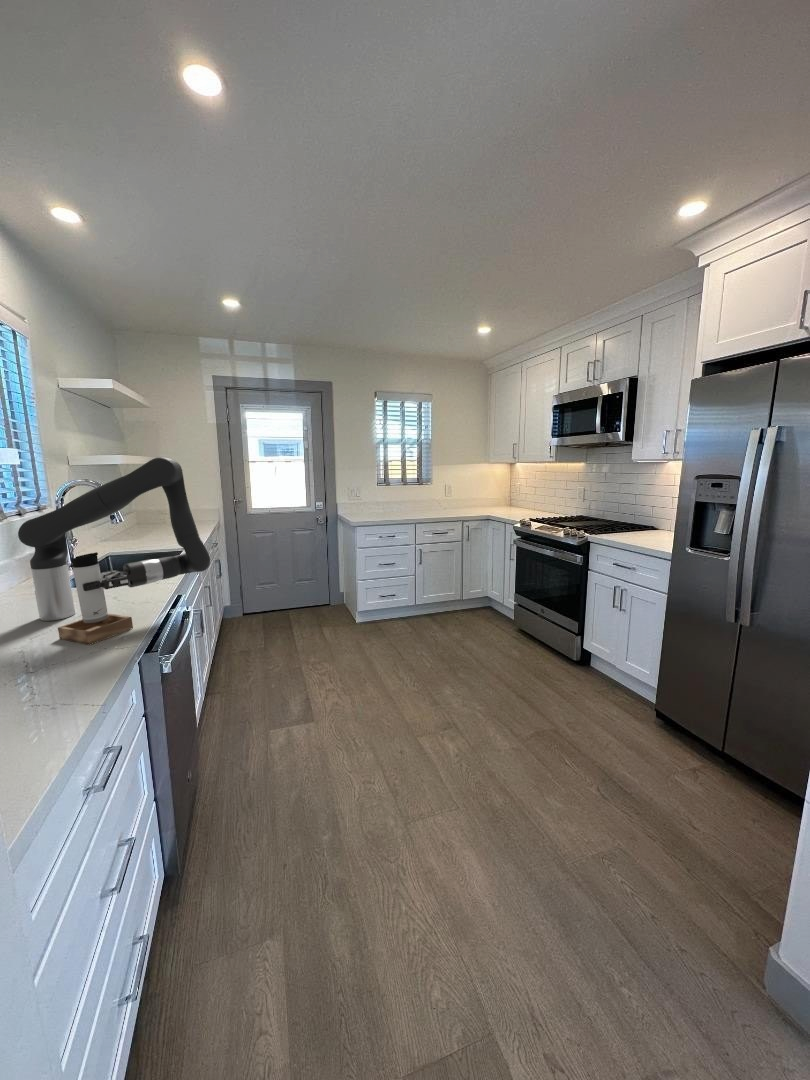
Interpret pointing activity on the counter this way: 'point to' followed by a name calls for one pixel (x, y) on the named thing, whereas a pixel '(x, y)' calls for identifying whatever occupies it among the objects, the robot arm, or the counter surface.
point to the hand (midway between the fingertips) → (80, 585)
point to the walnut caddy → (95, 629)
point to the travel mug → (94, 599)
